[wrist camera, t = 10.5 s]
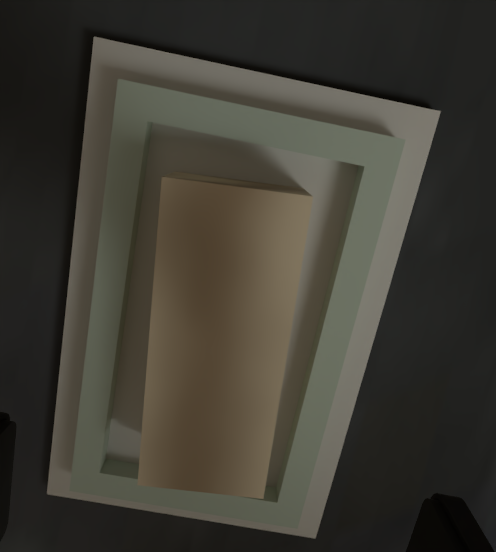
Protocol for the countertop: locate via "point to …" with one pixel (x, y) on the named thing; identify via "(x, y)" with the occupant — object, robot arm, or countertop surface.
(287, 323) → the birch tile
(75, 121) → the countertop surface
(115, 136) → the white flat rectangular tray
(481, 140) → the countertop surface
